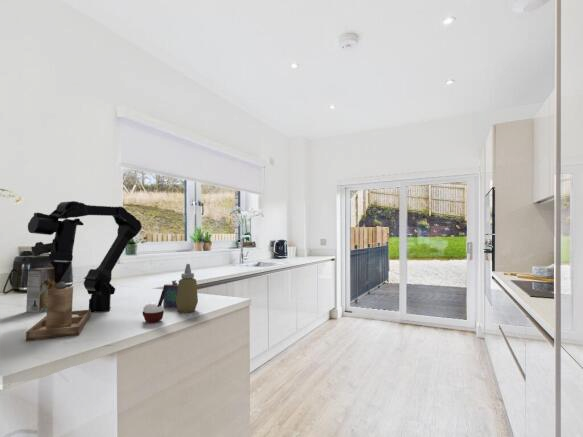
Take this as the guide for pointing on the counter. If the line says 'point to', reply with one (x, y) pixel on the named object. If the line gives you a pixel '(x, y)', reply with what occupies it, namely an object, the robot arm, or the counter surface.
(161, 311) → the rice bowl with chopsticks
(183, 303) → the squeeze bottle
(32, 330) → the tray
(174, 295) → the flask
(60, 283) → the pepper mill
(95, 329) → the counter surface
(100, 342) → the counter surface
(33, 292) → the coffee box
